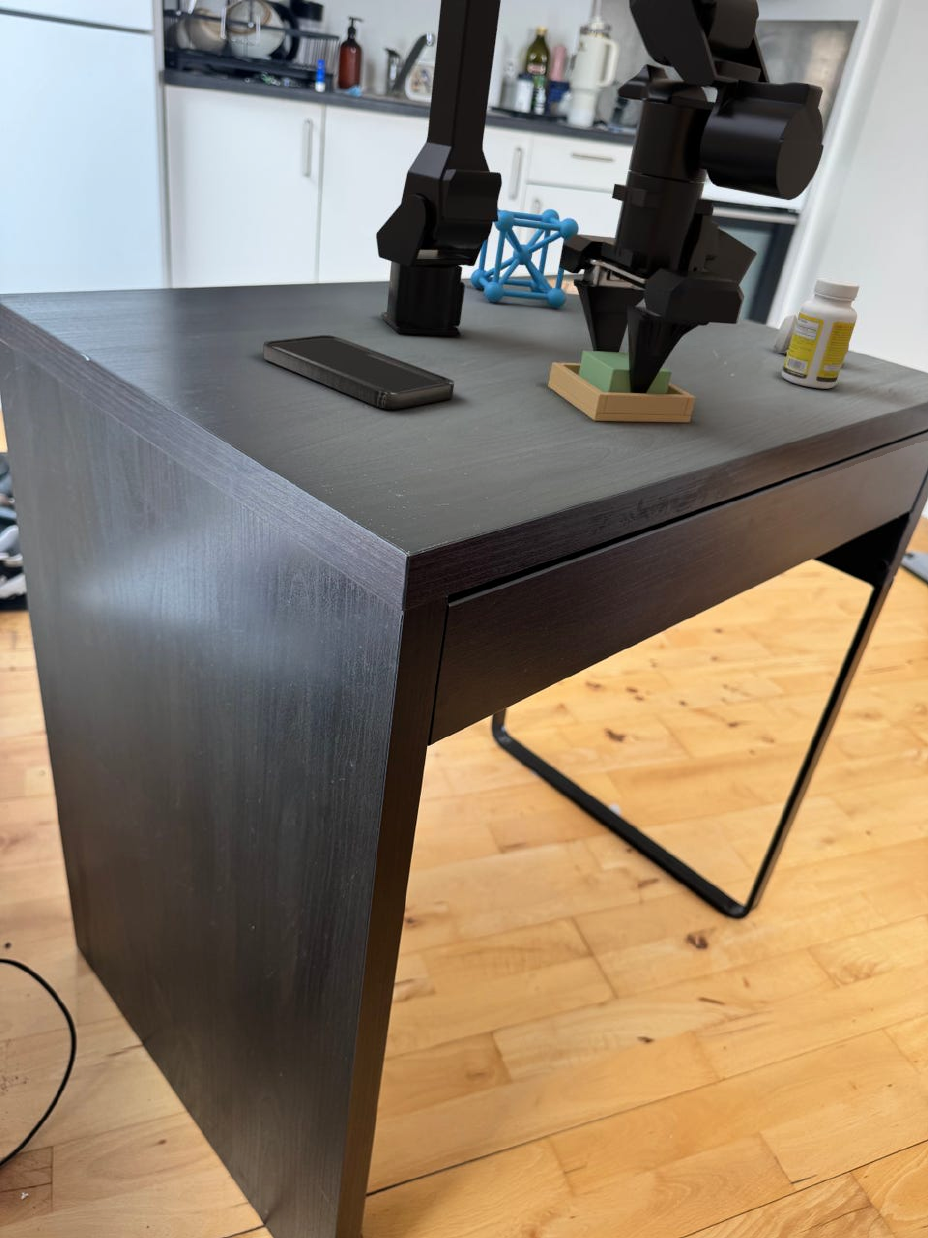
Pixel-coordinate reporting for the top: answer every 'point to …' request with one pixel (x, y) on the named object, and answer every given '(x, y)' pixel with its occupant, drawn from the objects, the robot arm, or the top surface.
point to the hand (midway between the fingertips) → (620, 384)
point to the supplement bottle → (822, 335)
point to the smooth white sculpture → (787, 334)
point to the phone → (359, 371)
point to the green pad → (616, 373)
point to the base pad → (619, 399)
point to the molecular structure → (524, 257)
